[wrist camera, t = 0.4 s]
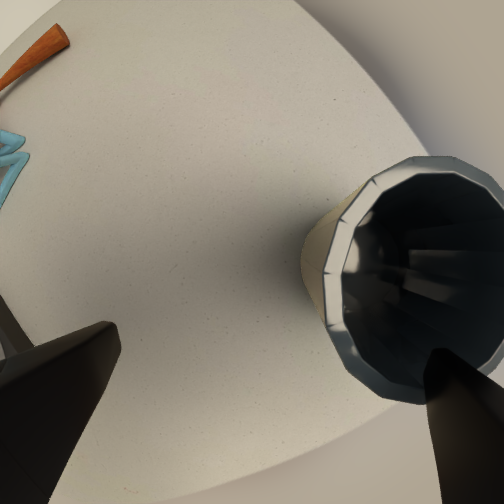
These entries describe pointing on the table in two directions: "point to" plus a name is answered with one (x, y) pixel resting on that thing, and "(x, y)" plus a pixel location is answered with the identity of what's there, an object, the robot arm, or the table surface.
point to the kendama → (36, 54)
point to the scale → (11, 334)
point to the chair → (10, 160)
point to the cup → (411, 273)
